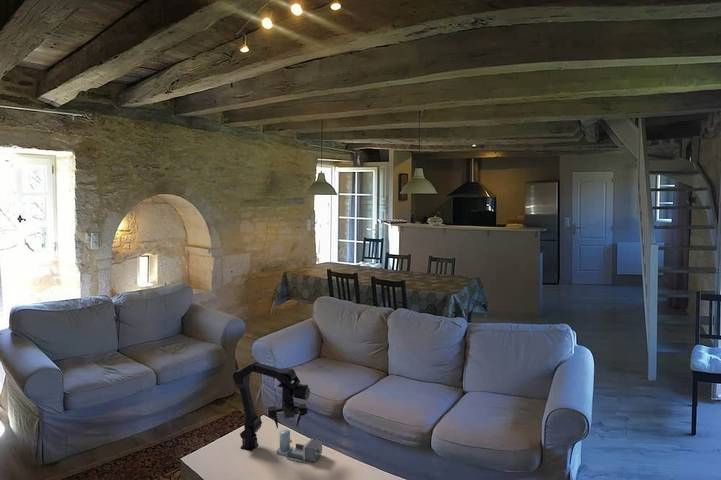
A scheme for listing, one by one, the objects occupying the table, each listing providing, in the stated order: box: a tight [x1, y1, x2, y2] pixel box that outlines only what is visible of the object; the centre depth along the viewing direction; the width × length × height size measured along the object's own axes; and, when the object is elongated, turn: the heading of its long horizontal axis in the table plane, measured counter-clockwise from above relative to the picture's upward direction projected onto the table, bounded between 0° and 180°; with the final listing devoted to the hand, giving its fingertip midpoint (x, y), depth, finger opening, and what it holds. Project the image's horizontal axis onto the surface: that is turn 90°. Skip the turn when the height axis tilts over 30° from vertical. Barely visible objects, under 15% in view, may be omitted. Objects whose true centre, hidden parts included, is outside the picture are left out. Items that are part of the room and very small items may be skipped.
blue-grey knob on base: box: [275, 429, 294, 457], centre depth 236 cm, size 6×6×10 cm
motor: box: [286, 437, 323, 463], centre depth 233 cm, size 15×11×7 cm
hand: (286, 427), depth 234 cm, fingers open, 9 cm apart
